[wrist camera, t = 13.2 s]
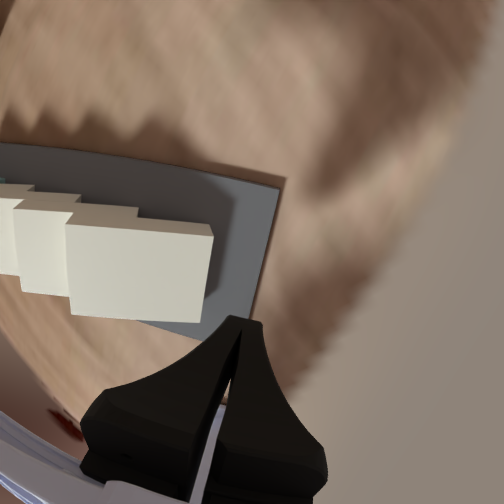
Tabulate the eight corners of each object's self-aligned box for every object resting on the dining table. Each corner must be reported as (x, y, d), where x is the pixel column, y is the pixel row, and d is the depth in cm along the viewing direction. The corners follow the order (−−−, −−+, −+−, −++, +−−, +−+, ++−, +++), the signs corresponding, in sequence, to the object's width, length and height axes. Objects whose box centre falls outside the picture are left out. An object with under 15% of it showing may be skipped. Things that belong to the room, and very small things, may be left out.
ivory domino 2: (136, 217, 15) (12, 208, 12) (132, 302, 17) (22, 291, 14) (138, 207, 16) (23, 199, 14) (134, 286, 18) (30, 277, 16)
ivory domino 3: (213, 236, 14) (64, 224, 12) (199, 322, 16) (71, 314, 14) (209, 224, 16) (73, 212, 14) (196, 305, 18) (77, 297, 16)
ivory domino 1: (74, 202, 15) (-24, 197, 13) (76, 282, 17) (-15, 271, 15) (81, 194, 16) (-12, 189, 14) (81, 269, 18) (-5, 260, 16)
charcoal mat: (241, 346, 19) (240, 351, 19) (-15, 252, 20) (-19, 254, 20) (280, 188, 15) (279, 190, 15) (-22, 140, 16) (-26, 141, 16)
